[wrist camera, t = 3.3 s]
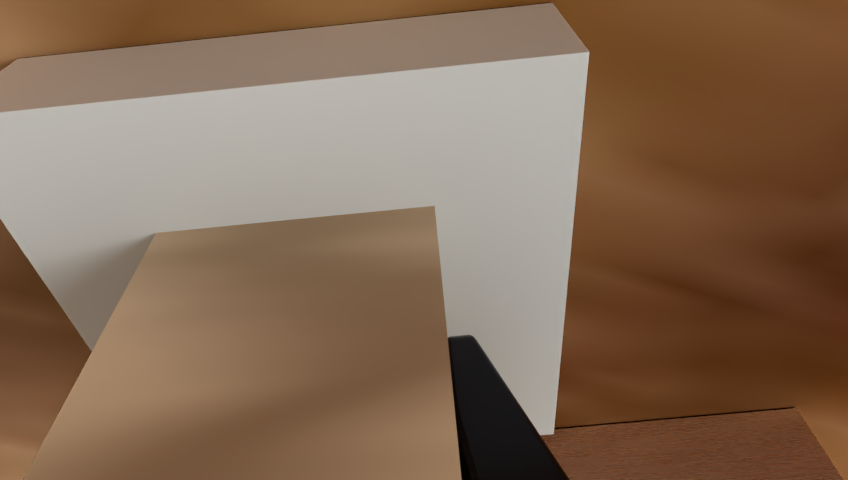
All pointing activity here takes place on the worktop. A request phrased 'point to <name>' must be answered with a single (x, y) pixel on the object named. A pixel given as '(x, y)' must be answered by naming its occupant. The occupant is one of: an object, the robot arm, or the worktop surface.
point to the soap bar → (316, 160)
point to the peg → (270, 359)
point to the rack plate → (695, 449)
